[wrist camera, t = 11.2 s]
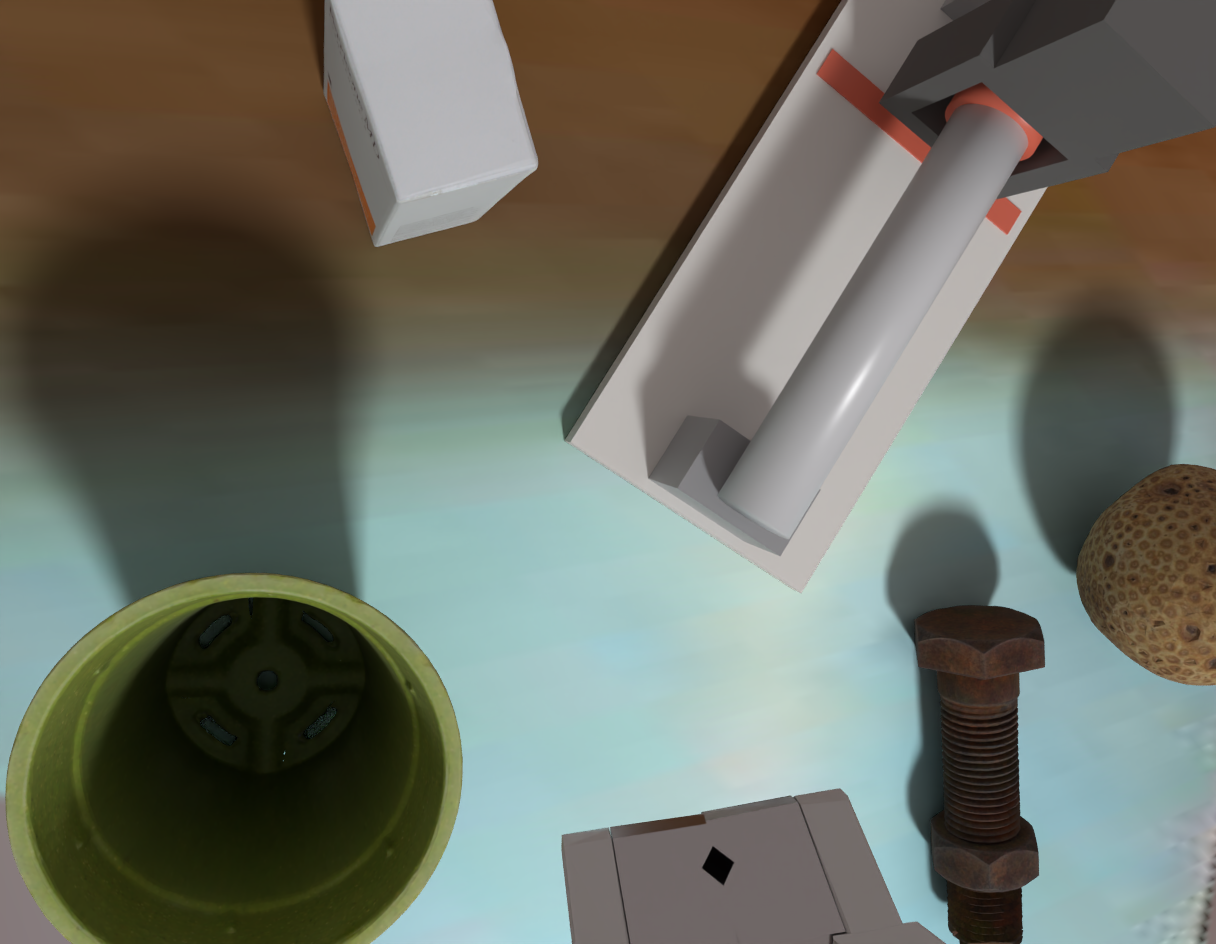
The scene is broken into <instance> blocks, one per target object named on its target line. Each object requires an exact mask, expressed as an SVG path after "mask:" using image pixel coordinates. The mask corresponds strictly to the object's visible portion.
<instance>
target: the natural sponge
mask: <svg viewBox="0 0 1216 944" xmlns="http://www.w3.org/2000/svg"><path fill="white" fill-rule="evenodd" d="M1076 578H1077V585H1078V590H1079V595H1080V598H1081V601H1082V604H1083V606H1084V608H1085V610H1086V612H1087V614H1088V615H1089V617H1090V619H1091V621H1092V622H1093V624H1094V625H1095V626H1096V627H1097V629H1098V630H1099V631H1100V632H1101V633H1102V634H1103V635H1105V636H1106V637H1107V638H1108V639H1109V640H1110V641H1111V642H1112V643H1113V644H1114V645H1115V646H1116V647H1117V648H1118V649H1120V650H1121V651H1122V652H1123V653H1124V654H1125V655H1127V656H1128V657H1129V658H1131V659H1132V660H1133V661H1135V662H1136V663H1138V664H1139V665H1141V666H1142V667H1144V668H1145V669H1147V670H1149V671H1150V672H1152V673H1154V674H1156V675H1158V676H1160V677H1163V678H1165V679H1168V680H1171V681H1175V682H1178V683H1183V684H1188V685H1216V470H1215V469H1212V468H1207V467H1203V466H1198V465H1189V464H1177V465H1170V466H1168V467H1165V468H1162V469H1160V470H1158V471H1156V472H1154V473H1152V474H1150V475H1148V476H1147V477H1145V478H1144V479H1143V480H1141V481H1140V482H1139V483H1137V484H1136V485H1135V486H1133V487H1132V488H1131V489H1130V490H1129V491H1127V492H1126V493H1125V494H1123V495H1122V496H1121V497H1120V498H1119V499H1118V500H1117V501H1115V502H1114V503H1113V504H1112V505H1111V506H1109V507H1108V508H1107V509H1106V510H1105V511H1104V512H1103V513H1102V514H1101V515H1100V516H1099V518H1098V519H1097V520H1096V522H1095V523H1094V525H1093V526H1092V528H1091V530H1090V532H1089V534H1088V536H1087V538H1086V540H1085V542H1084V545H1083V547H1082V549H1081V551H1080V554H1079V556H1078V560H1077V571H1076Z"/></svg>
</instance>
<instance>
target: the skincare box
mask: <svg viewBox="0 0 1216 944" xmlns="http://www.w3.org/2000/svg"><path fill="white" fill-rule="evenodd" d="M324 18H325V22H324V95H325V98H326V101H327V104H328V106H329V109H330V112H331V115H332V118H333V121H334V123H335V126H336V129H337V132H338V135H339V138H340V141H341V143H342V146H343V149H344V152H345V155H346V158H347V161H348V163H349V166H350V169H351V173H352V176H353V179H354V182H355V185H356V189H357V192H358V195H359V198H360V202H361V205H362V208H363V211H364V215H365V218H366V221H367V225H368V228H369V231H370V234H371V238H372V241H373V244H374V246H376V247H379V246H383V245H386V244H390V243H394V242H397V241H401V240H405V239H409V238H413V237H417V236H420V235H424V234H428V233H432V232H436V231H440V230H444V229H448V228H452V227H455V226H459V225H463V224H467V223H470V222H473V221H476V220H478V219H479V218H480V217H481V216H482V215H483V214H485V213H486V212H487V211H488V210H489V209H490V208H491V207H492V206H494V205H495V204H496V203H497V202H498V201H499V200H500V199H501V198H502V197H504V196H505V195H506V194H507V193H508V192H509V191H511V190H512V189H513V188H514V187H515V186H516V185H517V184H518V183H520V182H521V181H522V180H523V179H524V178H526V177H527V176H528V175H529V174H531V173H532V172H533V171H535V170H536V169H537V167H538V158H537V154H536V151H535V147H534V144H533V141H532V137H531V134H530V130H529V127H528V124H527V120H526V117H525V113H524V109H523V106H522V103H521V99H520V96H519V92H518V88H517V84H516V80H515V74H514V69H513V65H512V61H511V57H510V54H509V50H508V47H507V44H506V42H505V39H504V37H503V34H502V31H501V28H500V24H499V21H498V18H497V14H496V11H495V8H494V4H493V1H492V0H325V16H324Z"/></svg>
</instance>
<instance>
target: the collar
mask: <svg viewBox="0 0 1216 944" xmlns="http://www.w3.org/2000/svg"><path fill="white" fill-rule="evenodd" d="M981 82H982V83H983V84H984V85H986V86H987V87H988V88H989V89H990V90H991V91H992V92H993V93H995V94H996V95H997V96H998V97H999V98H1000V99H1001V100H1002V101H1003V102H1005V103H1006V104H1007V105H1008V106H1009V107H1010V108H1011V109H1012V110H1013V111H1015V112H1016V113H1017V114H1018V115H1019V116H1020V117H1021V118H1022V119H1024V120H1025V121H1026V122H1027V123H1028V124H1029V125H1030V126H1031V127H1032V128H1034V129H1035V130H1036V131H1037V132H1038V133H1039V134H1040V135H1041V136H1042V137H1043V139H1042V140H1041V142H1040V144H1039V145H1038V147H1037V149H1036V150H1035V152H1034V153H1033V155H1032V156H1031V157H1029V158H1027V159H1025V160H1022V161H1019V162H1018V164H1017V165H1016V167H1015V169H1014V170H1013V172H1012V174H1011V175H1010V177H1009V179H1008V180H1007V182H1006V184H1005V185H1004V187H1003V188H1002V190H1001V192H1000V193H999V195H998V197H997V198H996V199H1000V198H1004V197H1008V196H1012V195H1017V194H1021V193H1025V192H1029V191H1033V190H1037V189H1041V188H1045V187H1049V186H1053V185H1057V184H1061V183H1065V182H1069V181H1073V180H1077V179H1081V178H1085V177H1089V176H1093V175H1097V174H1101V173H1105V172H1108V171H1109V169H1110V168H1111V166H1112V164H1113V163H1114V161H1115V159H1116V158H1117V156H1118V154H1119V153H1121V152H1125V151H1128V150H1132V149H1136V148H1139V147H1143V146H1147V145H1151V144H1154V143H1158V142H1162V141H1166V140H1169V139H1173V138H1177V137H1180V136H1184V135H1188V134H1192V133H1195V132H1199V131H1203V130H1206V129H1210V128H1214V127H1215V126H1216V0H990V1H988V2H987V3H985V4H983V5H981V6H979V7H977V8H976V9H974V10H972V11H970V12H968V13H966V14H965V15H963V16H961V17H959V18H957V19H955V20H954V21H952V22H950V23H948V24H946V25H945V26H943V27H941V28H939V29H937V30H935V31H934V32H932V33H930V34H928V35H926V36H924V37H923V38H921V39H919V40H918V41H917V42H916V44H915V45H914V47H913V49H912V50H911V52H910V53H909V55H908V57H907V58H906V60H905V61H904V63H903V65H902V66H901V68H900V69H899V71H898V73H897V74H896V76H895V78H894V79H893V81H892V82H891V84H890V86H889V87H888V89H887V90H886V92H885V94H884V95H883V97H882V98H881V100H880V102H879V104H881V105H882V106H883V107H884V108H885V109H887V110H888V111H889V112H890V113H891V114H892V115H894V116H895V117H896V118H897V119H898V120H899V121H901V122H902V123H903V124H904V125H905V126H906V127H908V128H909V129H910V130H911V131H912V132H913V133H915V134H916V135H917V136H918V137H919V138H920V139H922V140H923V141H924V142H925V143H926V144H927V145H929V146H930V147H931V148H932V146H933V144H934V143H935V141H936V140H937V138H938V136H939V135H940V133H941V131H942V130H943V128H944V127H945V125H946V123H947V122H946V119H945V111H946V108H947V106H948V105H949V103H950V101H951V100H952V98H953V97H954V95H955V94H956V93H958V92H960V91H963V90H965V89H967V88H970V87H972V86H974V85H976V84H979V83H981Z"/></svg>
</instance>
